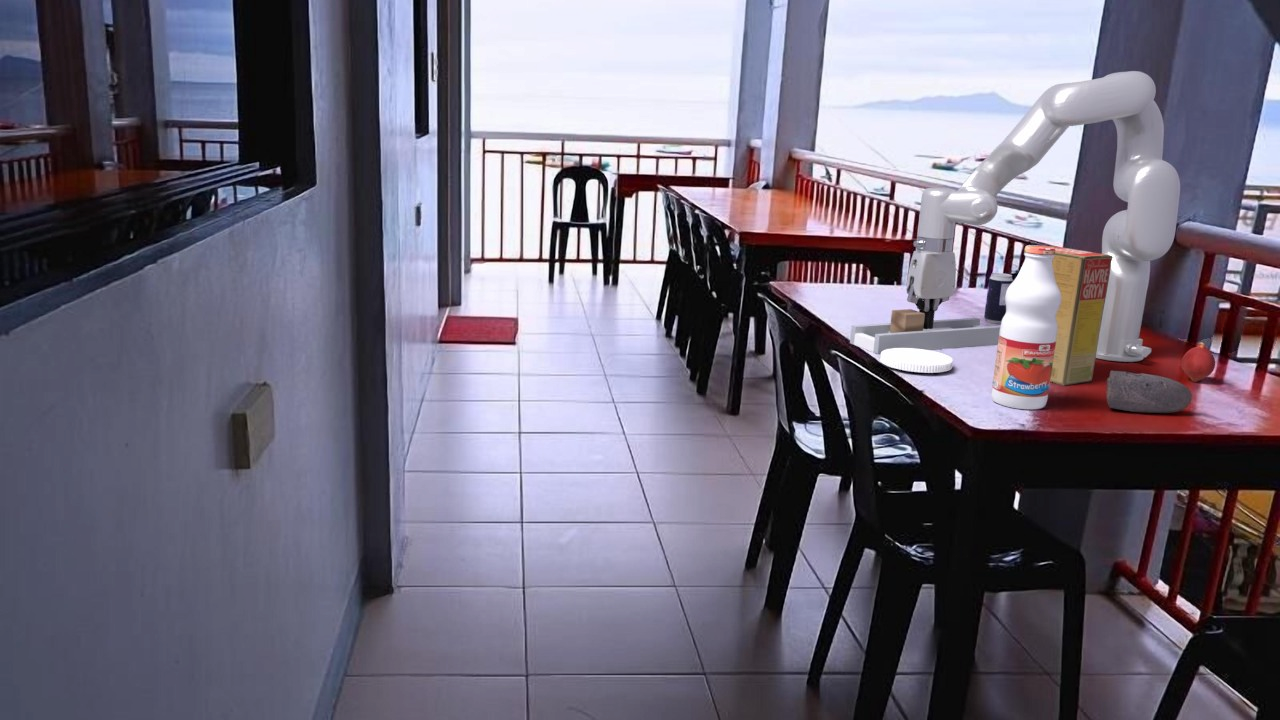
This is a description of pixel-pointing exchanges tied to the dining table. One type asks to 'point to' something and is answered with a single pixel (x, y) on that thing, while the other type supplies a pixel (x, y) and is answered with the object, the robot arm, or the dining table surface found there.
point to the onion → (1198, 362)
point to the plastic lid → (916, 360)
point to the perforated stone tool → (1146, 393)
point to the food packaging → (1078, 312)
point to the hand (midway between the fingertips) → (925, 327)
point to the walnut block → (906, 321)
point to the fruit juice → (1028, 333)
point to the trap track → (926, 336)
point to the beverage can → (997, 297)
